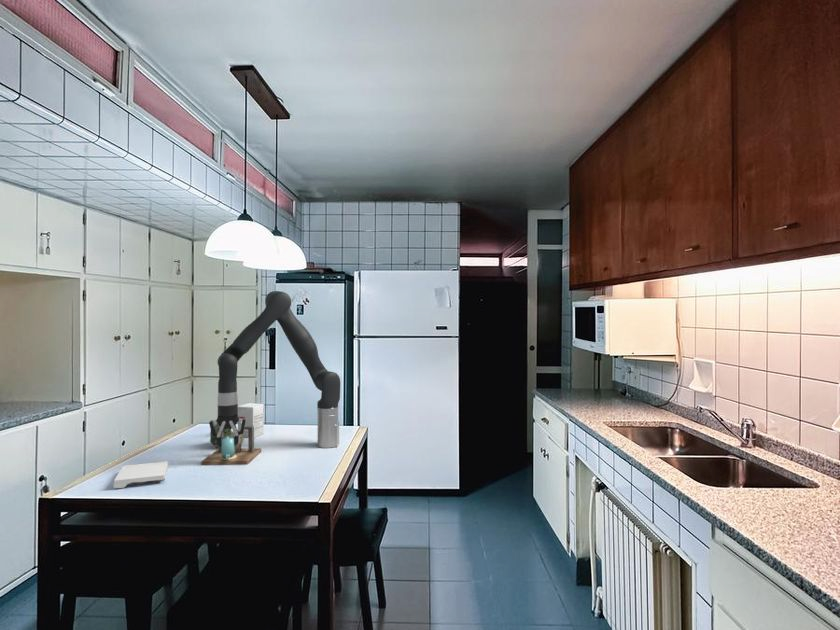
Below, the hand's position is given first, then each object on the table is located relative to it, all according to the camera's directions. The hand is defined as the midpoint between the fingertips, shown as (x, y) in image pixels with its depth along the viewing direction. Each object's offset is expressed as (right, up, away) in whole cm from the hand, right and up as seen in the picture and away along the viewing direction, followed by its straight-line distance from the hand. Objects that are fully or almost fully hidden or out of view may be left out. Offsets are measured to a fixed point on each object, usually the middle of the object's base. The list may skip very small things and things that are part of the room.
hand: (228, 445), depth 196 cm
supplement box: (-6, -7, +43) cm, 44 cm away
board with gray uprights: (0, -7, +5) cm, 8 cm away
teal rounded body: (0, -4, 0) cm, 4 cm away
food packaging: (-24, -8, -19) cm, 31 cm away
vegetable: (-10, -7, +24) cm, 27 cm away
